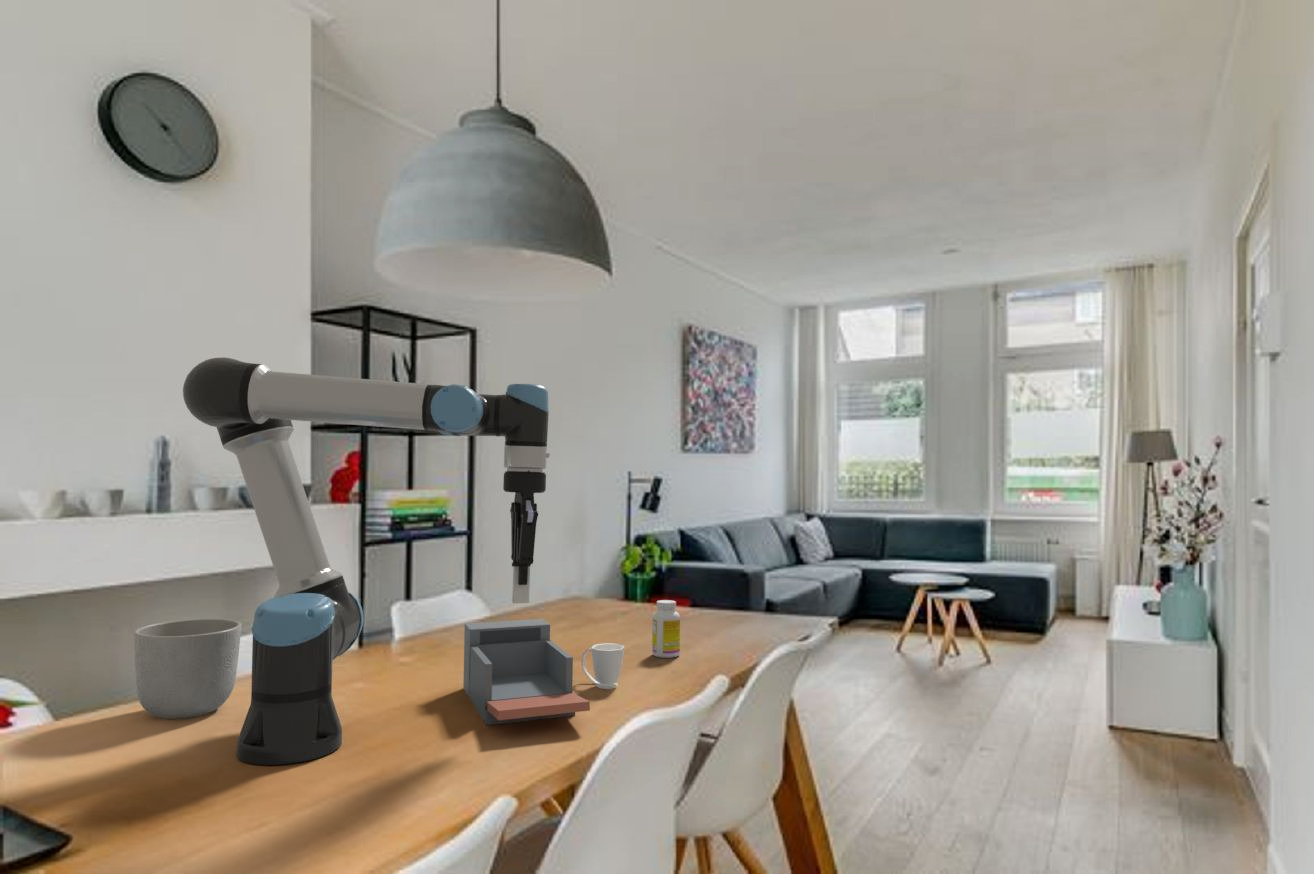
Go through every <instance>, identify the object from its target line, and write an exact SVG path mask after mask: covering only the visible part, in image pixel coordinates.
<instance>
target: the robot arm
mask: <svg viewBox="0 0 1314 874" xmlns="http://www.w3.org/2000/svg"><path fill="white" fill-rule="evenodd" d="M182 394H183V395H182V396H183V397H182V398H183V401H184V404H185V405H186V408H187V409H188V411H189V412H190V414H191V415H192V416H193V417H194V418H195V419H197V420H199V422H202V423H203V424H205V425H208V426H210V427H215V428H216V429H217V432H218V435H219V439H220V441H221V444H222V448H223V449H224V450H226V451H229V452H230V453H233V454H234V455H235V456H236V458H237V461H238V464H239V468H240V471H241V473H242V477H243V480H244V483H245V486H246V488H247V492H248V494H249V498H250V501H251V503H252V504H251V505H252V507H253V510H254V513H255V516H256V518H257V519H256V520H257V522H258V525H259V527H260V531H261V533H262V538H263V540H264V542H265V546H266V548H267V552H268V554H269V558H270V560H271V563H272V567H273V569H274V572H275V575H276V579H277V581H278V582H277V583H278V589H277V590H276V592H275V594H274V596H273V598H272V597H271V598H268V599H266V600H265V601H263V602H262V603H260V604H259V605H258V607H256V608H255V612H254V613H253V615H254V616H253V622H252V627H251V634H252V646H251V647H252V651H251V692H250V693H251V694H250V695H251V696H250V697H251V698H250V705H249V708H248V710H247V713H246V716H245V719H244V722H243V724H242V726H241V729H240V733H239V735H238V737H237V742H236V757H237V758H238V759H239V760H240V761H242V762H245V763H247V764H253V765H262V766H274V765H275V766H279V765H288V764H289V765H290V764H297V763H302V762H303V763H304V762H307V761H312V760H316V759H318V758H322V757H324V756H326V755H330V754H331V753H333V752H335V751H336V750H338V749H339V748H340V747H341V746H342V743H343V727H342V724H341V721H340V717H339V714H338V712H337V708H336V705H335V703H334V702H335V701H334V699H333V696H332V695H333V694H332V693H333V692H332V690H333V688H332V685H333V684H332V682H333V660H335V659H336V658H337V657H340V656H342V655H344V653H346V652H347V651H349V649H351V647H352V646H353V645H354V643H355V642H356V641H357V639H358V638H359V636H360V634H361V631H362V629H363V626H364V611H363V608H362V605H361V603H360V601H359V600H358V598H357V597H356V596H355V595H354V594H353V593H351V592H350V591H348V588H347V584H346V581H345V579H344V576H343V573H341V572H339V571H337V570H334V569H333V568H332V567H331V566H330V563H329V560H328V556H327V553H326V551H325V548H324V544H323V542H322V539H321V536H320V532H319V530H318V527H317V525H316V521H315V518H314V515H313V512H312V511H313V510H312V509H311V505H310V503H309V500H308V497H307V494H306V491H305V488H304V485H303V482H302V479H301V475H300V473H299V470H298V467H297V463H296V460H295V458H294V455H293V452H292V449H291V446H290V441H289V439H290V437H291V436H292V433H293V432H294V426H293V422H292V421H299V422H312V423H313V422H314V423H325V424H326V423H327V424H328V423H329V424H339V425H354V426H355V425H356V426H366V427H367V426H369V427H382V428H394V429H405V430H406V429H408V430H409V429H410V430H424V431H430V432H431V431H432V432H439V433H440V434H442V435H448V436H449V435H450V436H454V437H461V436H467V437H470V436H473V437H504V439H505V441H504V452H503V454H504V455H503V467H504V468H505V469H506V471H504V473H503V483H502V485H503V488H502V489H503V491H504V492H506V493H514V500H513V502H512V501H511V504H510V505H511V506H510V509H509V512H510V520H511V521H510V524H511V526H510V528H511V530H510V531H511V537H510V538H511V539H510V540H511V542H510V543H511V556H510V558H511V560H512V562H511V567H512V570H513V573H512V596H511V597H512V598H511V599H512V600H511V602H512V604H530V603H529V602H530V584H531V583H530V582H531V580H530V579H531V578H530V577H531V565H533V564H534V554H535V545H536V544H535V542H536V541H535V540H536V532H537V531H536V529H537V524H538V523H537V521H538V516H539V512H538V511H537V510H538V506H537V505H538V504H537V503H536V502H535V496H534V495H535V494H542V493H545V492H546V489H547V487H546V486H547V474H546V472H543V471H544V470H545V469H546V468H547V459H548V458H550V455H551V454H550V452H547V448H548V432H549V431H548V430H549V428H548V427H549V391H548V389H547V387H545V386H543V385H539V384H532V383H511V384H509V385H507V387H506V391H505V394H485V393H483V394H481V393H480V394H479V393H477V392H476V391H474V390H473V388H470V387H468V386H467V385H461V384H449V385H439V384H428V383H417V382H407V381H394V380H393V381H392V380H381V379H380V380H379V379H368V378H357V377H356V378H355V377H343V376H332V375H331V376H330V375H321V374H320V375H318V374H307V373H295V372H294V373H293V372H283V371H282V372H281V371H272V369H271V368H270V367H269V366H268V365H267V364H263V363H252V362H244V361H240V360H237V359H235V358H232V357H224V356H223V357H213V358H208V359H206V360H203V361H201V362H199V363H198V364H197V365H196V366H194V367H193V368H192V369H191V370H190V372H189V373H188V374H187V375H186V377H185V380H184V383H183V386H182Z"/></svg>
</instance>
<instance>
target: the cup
mask: <svg viewBox="0 0 1314 874" xmlns="http://www.w3.org/2000/svg"><path fill="white" fill-rule="evenodd" d="M588 652H590V653H591V658H592V666H593V673H594V677H595V678H594V677H593V676H592V675H591V674H590V673H589V672H588V670H587V667H586V657H587V654H588ZM624 653H625V645H622V644H619V643H613V642H611V643H609V642H606V643H605V642H604V643H597V644H593V645H592V646H591V647H590V648H588V649H585V651H584V652H583V653H582V658H581V669H582V671H583V673H584V675H585V676H586V677H587V678H588V679H589V680H590V681H591V682H592V683H593V684H594V685H596V687H597V688H599V689H601V690H602V689H603V690H612V689H616V688H617V687H618V686H619V684H618V683H617V682H618V681H619V678H620V677H621V676H620V674H621V670H622V667H623V659H624Z"/></svg>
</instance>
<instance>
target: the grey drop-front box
mask: <svg viewBox="0 0 1314 874" xmlns="http://www.w3.org/2000/svg"><path fill="white" fill-rule="evenodd" d="M573 667H574V657H573V656H572V655H571V654H570V653H568V652H567V651H566V650H564V649H563V648H562V647H560V646H559V645H558V644H556V643H555V642H554V641H553V640H552V639H550V640H538V641H524V642H510V643H496V644H482V645H470V673H469V697H468V698H469V700H470V701H471V703H472V704H473V706H474V707H475V710H476V712H477V713H478V714H479V715H480V718H481V719H482V720H483V722H484V723H485V725H486V726H491V725H498V724H499V725H500V724H508V723H517V722H526V721H534V720H535V721H536V720H547V719H555V718H563V717H574V716H576V712H572V713H562V714H553V715H544V716H535V717H525V718H516V719H507V720H498V719H496V718H495V717H494V716H493V715H492V714H491V713H489V712H488V711H487V707H486V705H487V702H488V701H498V700H509V699H519V698H529V697H539V696H549V695H559V694H570V693H573V683H574V682H573V681H574V680H573V675H574V671H573V670H574V669H573Z"/></svg>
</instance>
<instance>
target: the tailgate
mask: <svg viewBox="0 0 1314 874" xmlns="http://www.w3.org/2000/svg"><path fill="white" fill-rule="evenodd" d="M590 704H591V703H590V700H588V699H586V698H584V697H581V696H579V695H577V694H576V693H573V692H572V693H570V694H559V695H549V696H539V697H529V698H519V699H509V700H498V701H488V702H487V705H486V707H487V711H488V712H489V713H491V714H492V715H493V716H494V717H495V718H496V719H498V720H507V719H516V718H525V717H535V716H544V715H553V714H562V713H572V712H575V713H579V712H589V711H590V710H591V709H590V708H591V707H590V706H591V705H590Z"/></svg>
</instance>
